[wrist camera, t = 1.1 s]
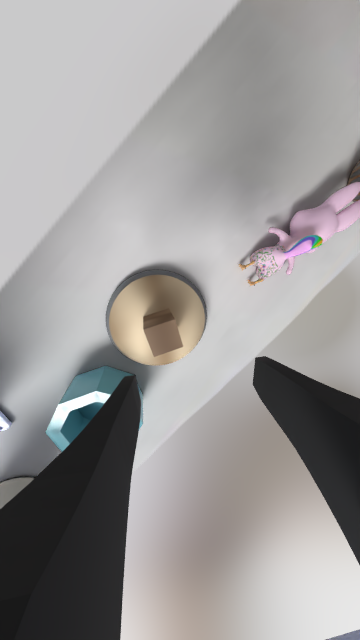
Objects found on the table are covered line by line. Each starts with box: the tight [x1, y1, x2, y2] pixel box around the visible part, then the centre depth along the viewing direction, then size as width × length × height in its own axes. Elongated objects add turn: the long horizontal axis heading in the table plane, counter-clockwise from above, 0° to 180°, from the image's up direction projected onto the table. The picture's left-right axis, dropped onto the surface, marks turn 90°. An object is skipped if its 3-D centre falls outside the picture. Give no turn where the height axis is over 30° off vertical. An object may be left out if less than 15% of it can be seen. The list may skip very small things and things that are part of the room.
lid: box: [109, 275, 205, 365], centre depth 18 cm, size 11×11×5 cm
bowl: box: [45, 366, 143, 452], centre depth 20 cm, size 9×9×4 cm
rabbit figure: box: [239, 182, 360, 286], centre depth 18 cm, size 6×6×15 cm
